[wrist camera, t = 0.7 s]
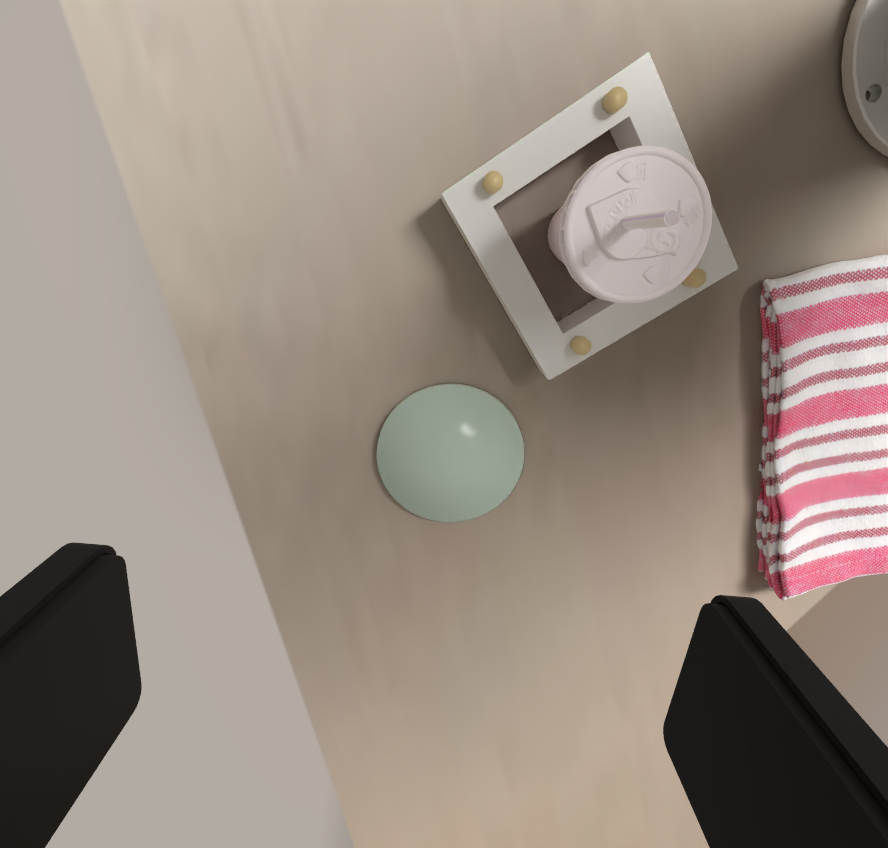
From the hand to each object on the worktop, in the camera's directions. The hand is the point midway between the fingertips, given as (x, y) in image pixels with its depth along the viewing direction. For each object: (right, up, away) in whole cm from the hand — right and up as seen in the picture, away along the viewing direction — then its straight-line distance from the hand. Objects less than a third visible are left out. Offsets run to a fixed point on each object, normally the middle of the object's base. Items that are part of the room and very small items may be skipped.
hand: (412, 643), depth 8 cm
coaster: (+1, +2, +27) cm, 27 cm away
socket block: (+9, +15, +22) cm, 28 cm away
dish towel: (+30, +4, +28) cm, 41 cm away
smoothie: (+9, +15, +23) cm, 29 cm away
